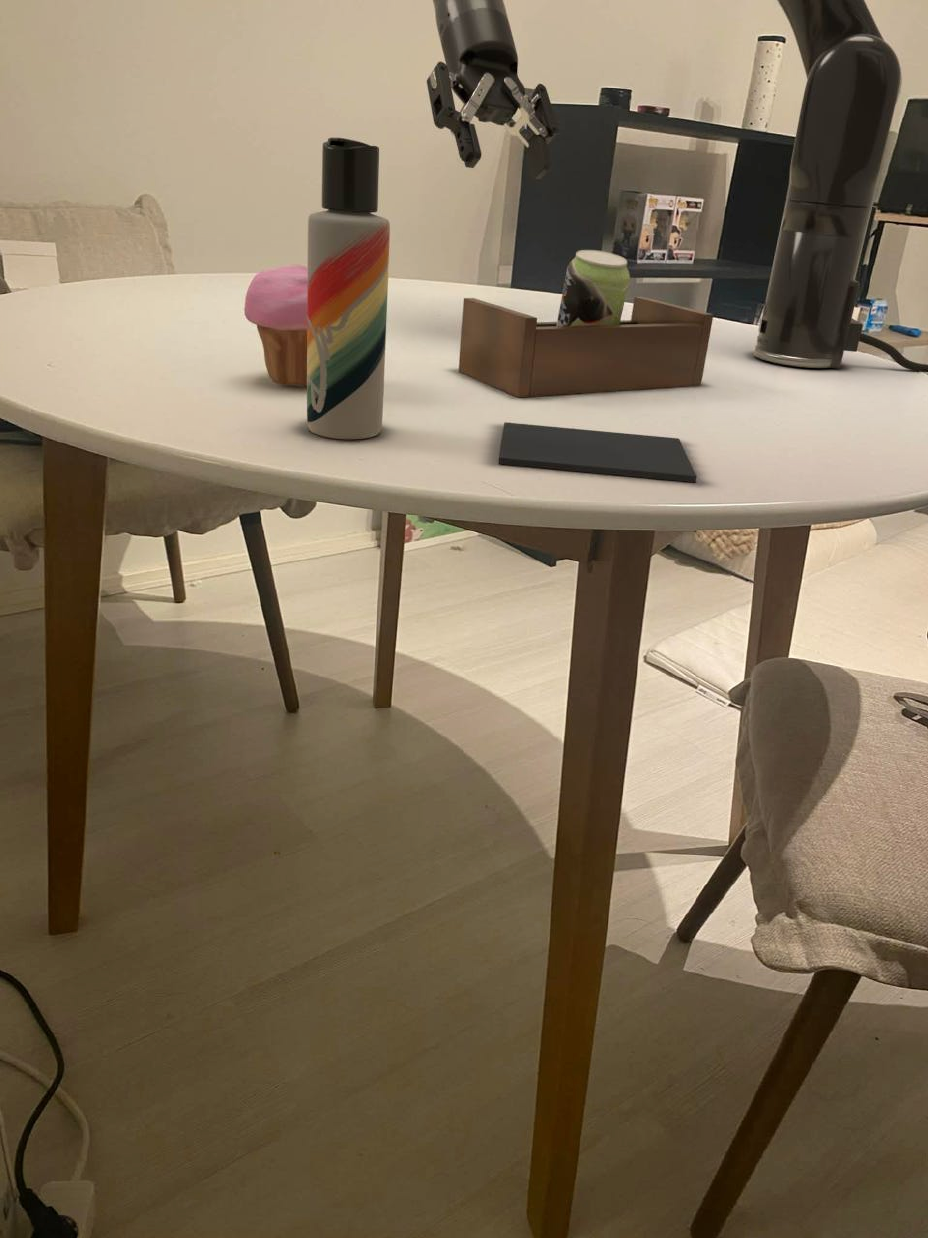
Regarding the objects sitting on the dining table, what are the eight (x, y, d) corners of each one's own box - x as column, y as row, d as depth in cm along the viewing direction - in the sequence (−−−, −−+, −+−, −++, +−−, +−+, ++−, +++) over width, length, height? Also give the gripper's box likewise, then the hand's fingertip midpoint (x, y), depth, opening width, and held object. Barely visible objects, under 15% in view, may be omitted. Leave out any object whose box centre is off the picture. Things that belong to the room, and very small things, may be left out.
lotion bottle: (291, 429, 74) (290, 133, 65) (338, 416, 78) (343, 137, 69) (351, 445, 71) (359, 139, 62) (396, 430, 76) (409, 143, 67)
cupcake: (349, 395, 84) (352, 274, 80) (246, 393, 83) (243, 268, 78) (339, 372, 92) (342, 260, 88) (245, 370, 90) (242, 255, 86)
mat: (678, 444, 78) (679, 438, 78) (695, 482, 69) (696, 475, 69) (503, 428, 79) (504, 421, 78) (498, 464, 70) (499, 457, 69)
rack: (458, 371, 97) (463, 297, 94) (633, 362, 108) (642, 296, 105) (518, 397, 89) (526, 317, 86) (701, 385, 100) (713, 314, 97)
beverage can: (582, 368, 103) (597, 247, 97) (629, 384, 97) (648, 256, 92) (534, 372, 99) (547, 246, 94) (580, 388, 94) (597, 256, 89)
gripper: (433, -10, 97) (468, 134, 95) (548, 20, 105) (583, 154, 102) (400, 46, 104) (433, 182, 101) (511, 70, 111) (544, 198, 109)
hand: (508, 168), depth 102 cm, fingers open, 8 cm apart
